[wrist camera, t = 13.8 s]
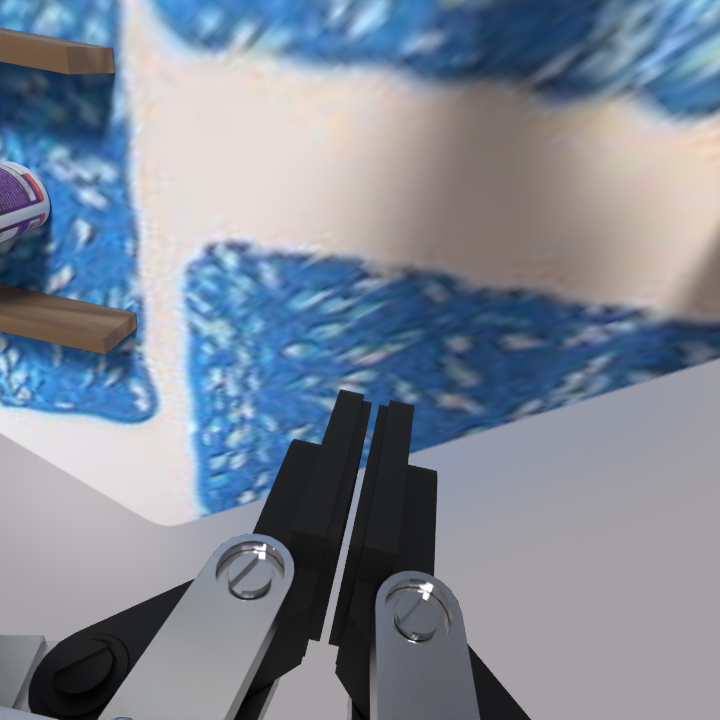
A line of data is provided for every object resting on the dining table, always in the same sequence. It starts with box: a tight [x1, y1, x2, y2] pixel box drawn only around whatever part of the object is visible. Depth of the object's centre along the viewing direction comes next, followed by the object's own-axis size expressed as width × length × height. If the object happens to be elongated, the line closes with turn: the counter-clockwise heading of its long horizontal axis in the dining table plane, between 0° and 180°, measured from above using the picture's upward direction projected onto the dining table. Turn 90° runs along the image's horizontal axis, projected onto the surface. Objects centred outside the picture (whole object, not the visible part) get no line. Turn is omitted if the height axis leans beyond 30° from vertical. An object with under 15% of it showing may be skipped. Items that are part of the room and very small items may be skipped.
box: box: [0, 28, 137, 354], centre depth 39 cm, size 22×16×5 cm
